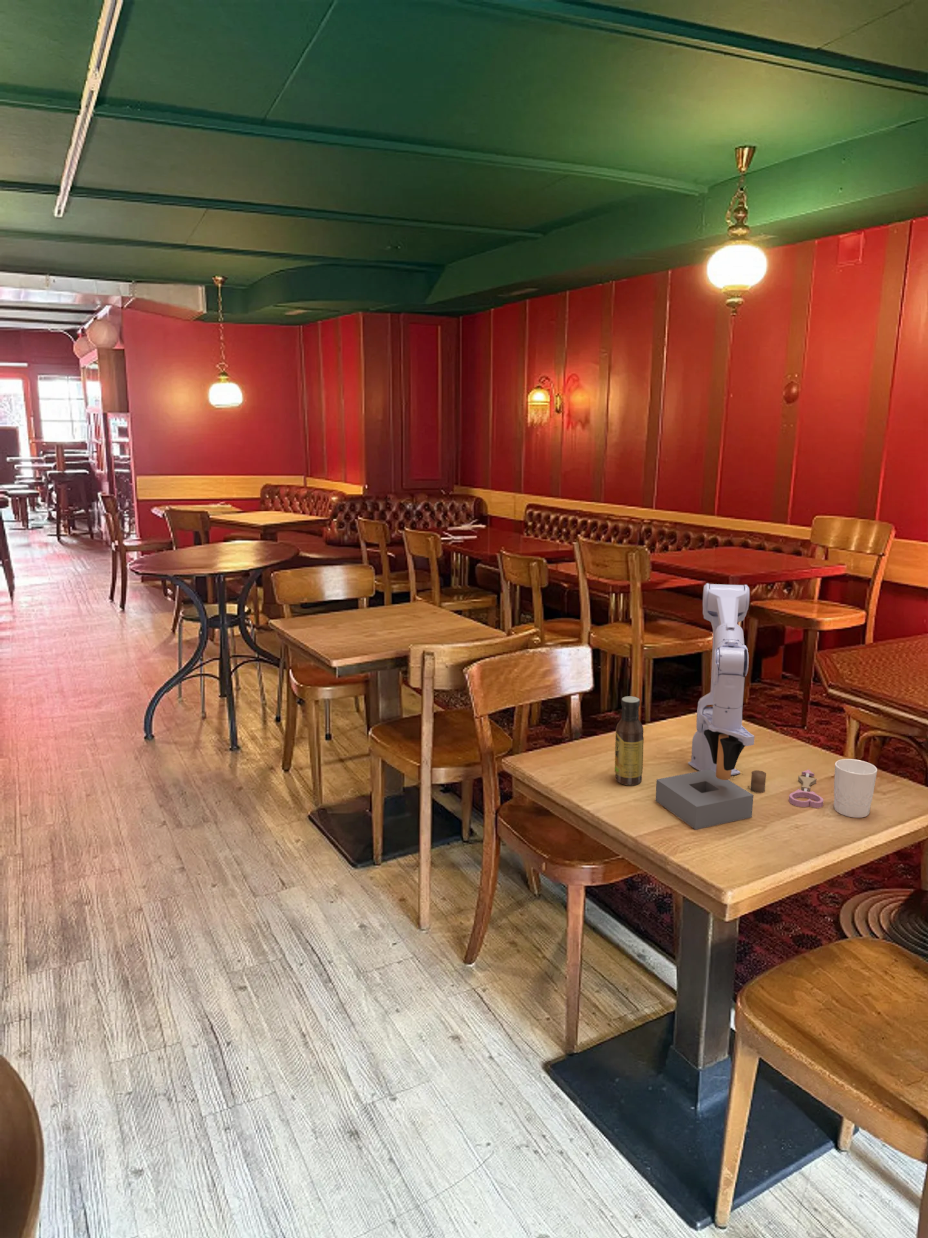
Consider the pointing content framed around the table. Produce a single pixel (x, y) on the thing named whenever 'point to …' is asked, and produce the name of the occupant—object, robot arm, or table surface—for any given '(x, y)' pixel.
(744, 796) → the bored block
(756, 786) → the short peg
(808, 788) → the decorative key
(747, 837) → the table surface
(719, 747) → the long peg
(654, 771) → the table surface
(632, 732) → the sauce bottle
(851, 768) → the white cup
